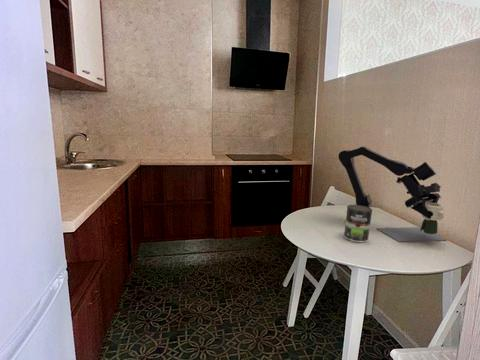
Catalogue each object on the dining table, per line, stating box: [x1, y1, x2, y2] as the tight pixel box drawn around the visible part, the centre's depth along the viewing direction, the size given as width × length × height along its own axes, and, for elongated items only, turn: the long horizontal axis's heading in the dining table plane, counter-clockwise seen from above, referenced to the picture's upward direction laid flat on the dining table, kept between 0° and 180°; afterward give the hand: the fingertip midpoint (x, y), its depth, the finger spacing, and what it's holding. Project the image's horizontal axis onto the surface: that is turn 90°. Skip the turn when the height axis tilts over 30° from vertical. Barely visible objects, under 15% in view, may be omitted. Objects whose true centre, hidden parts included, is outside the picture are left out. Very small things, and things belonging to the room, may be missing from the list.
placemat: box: [376, 226, 448, 243], centre depth 137 cm, size 24×16×1 cm, turn 99°
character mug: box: [420, 202, 445, 235], centre depth 126 cm, size 11×7×13 cm, turn 12°
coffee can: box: [343, 204, 373, 243], centre depth 129 cm, size 10×10×14 cm
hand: (434, 217), depth 125 cm, fingers closed on character mug, 7 cm apart
